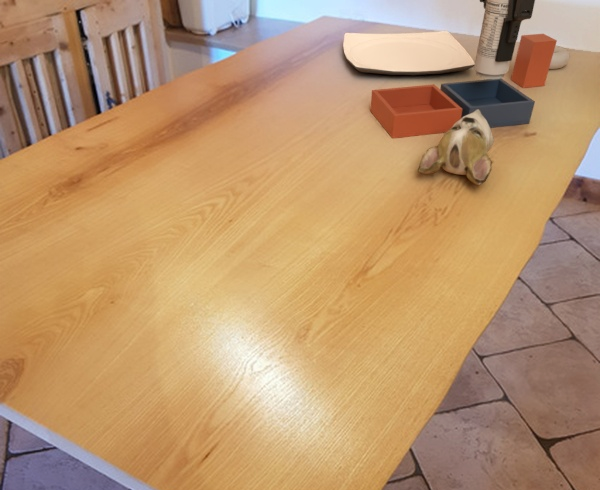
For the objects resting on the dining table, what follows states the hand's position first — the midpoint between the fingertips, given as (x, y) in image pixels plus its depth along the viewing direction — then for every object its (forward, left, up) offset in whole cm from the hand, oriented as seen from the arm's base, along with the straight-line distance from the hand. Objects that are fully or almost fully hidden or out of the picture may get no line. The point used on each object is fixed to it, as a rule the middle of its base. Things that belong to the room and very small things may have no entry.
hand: (494, 54), depth 98 cm
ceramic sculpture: (-20, +14, -11) cm, 27 cm away
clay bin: (0, +14, -11) cm, 18 cm away
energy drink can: (0, 0, -4) cm, 4 cm away
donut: (+23, -27, -11) cm, 37 cm away
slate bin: (0, 0, -11) cm, 11 cm away
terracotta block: (+13, -17, -11) cm, 24 cm away
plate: (+34, +3, -11) cm, 36 cm away
